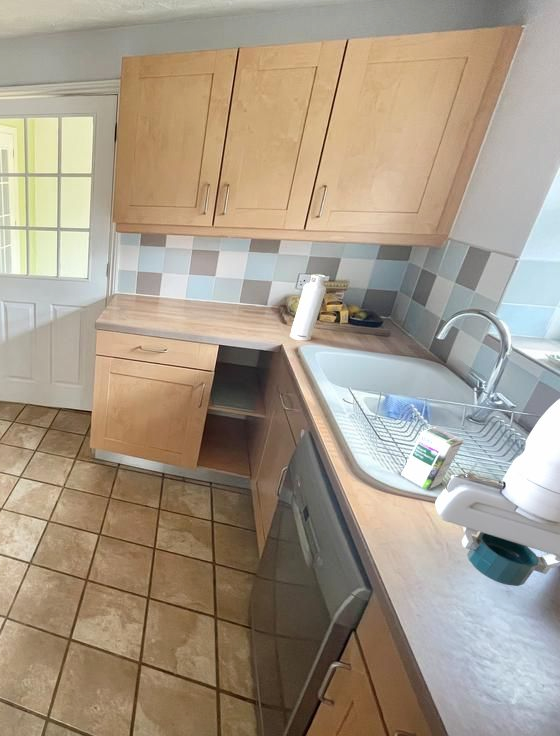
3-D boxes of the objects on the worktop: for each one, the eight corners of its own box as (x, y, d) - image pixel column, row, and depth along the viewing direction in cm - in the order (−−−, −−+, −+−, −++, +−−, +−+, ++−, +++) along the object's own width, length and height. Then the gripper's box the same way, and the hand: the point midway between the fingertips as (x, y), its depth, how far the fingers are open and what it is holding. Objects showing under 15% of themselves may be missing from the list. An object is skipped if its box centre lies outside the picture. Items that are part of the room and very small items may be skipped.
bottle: (285, 334, 186) (303, 273, 175) (299, 333, 189) (317, 272, 177) (300, 341, 179) (319, 278, 168) (314, 339, 182) (334, 277, 170)
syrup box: (397, 479, 101) (421, 430, 95) (411, 473, 103) (435, 425, 97) (424, 495, 96) (451, 444, 90) (438, 488, 98) (465, 438, 92)
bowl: (513, 562, 70) (528, 541, 68) (530, 595, 65) (546, 573, 63) (461, 545, 73) (473, 524, 71) (472, 575, 68) (486, 553, 66)
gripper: (459, 480, 64) (424, 544, 70) (661, 536, 55) (602, 604, 61) (449, 458, 69) (417, 519, 75) (632, 505, 60) (580, 571, 66)
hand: (501, 557), depth 68 cm, fingers closed on bowl, 7 cm apart
